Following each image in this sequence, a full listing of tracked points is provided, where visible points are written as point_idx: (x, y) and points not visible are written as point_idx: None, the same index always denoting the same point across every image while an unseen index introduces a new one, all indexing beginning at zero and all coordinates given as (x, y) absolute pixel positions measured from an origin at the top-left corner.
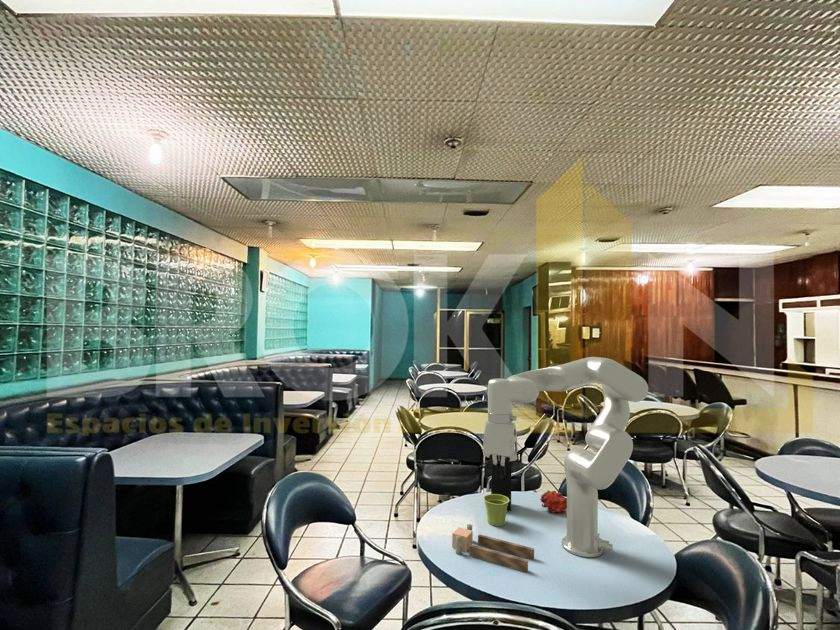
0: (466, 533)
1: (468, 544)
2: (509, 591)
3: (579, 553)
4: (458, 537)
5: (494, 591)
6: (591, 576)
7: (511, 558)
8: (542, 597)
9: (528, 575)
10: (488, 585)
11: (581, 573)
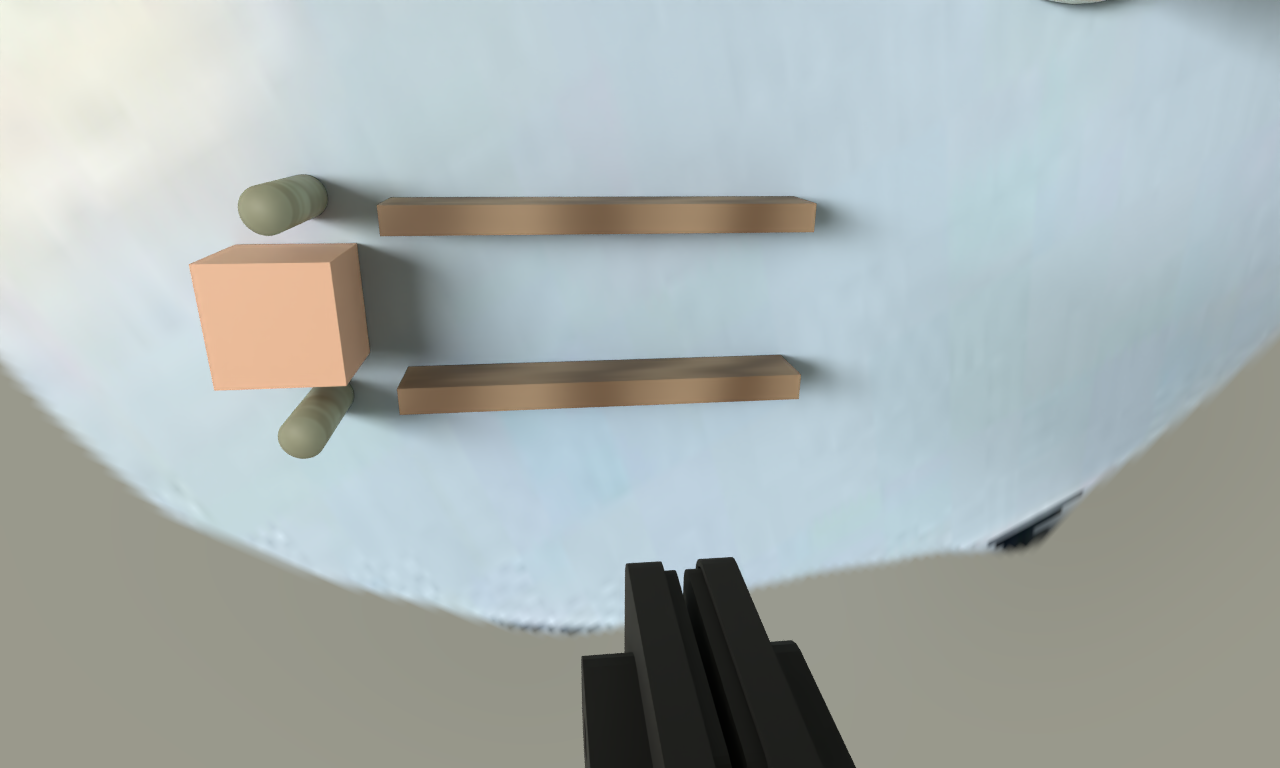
0: (311, 333)
1: (358, 331)
2: None
3: (1086, 2)
4: (304, 450)
5: None
6: (1113, 222)
7: (700, 400)
8: (877, 531)
9: None
10: None
11: (1063, 220)
